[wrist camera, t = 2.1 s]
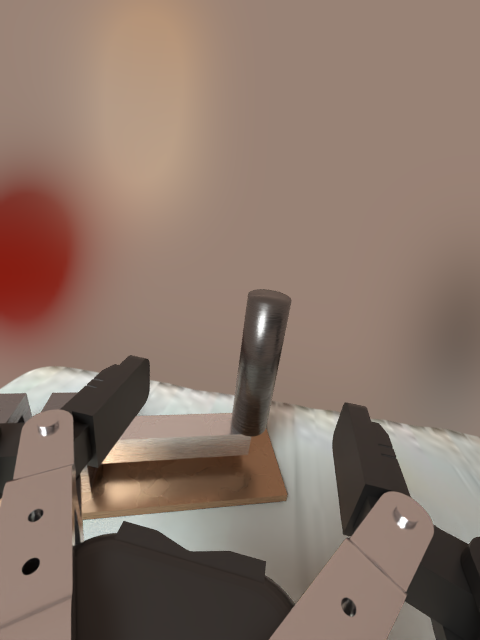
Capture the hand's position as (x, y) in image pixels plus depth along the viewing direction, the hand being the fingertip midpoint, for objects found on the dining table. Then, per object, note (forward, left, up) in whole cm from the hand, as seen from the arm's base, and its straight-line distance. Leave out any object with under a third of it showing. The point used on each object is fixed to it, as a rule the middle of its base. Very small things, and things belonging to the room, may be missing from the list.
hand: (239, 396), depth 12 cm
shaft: (+3, -11, -15) cm, 18 cm away
